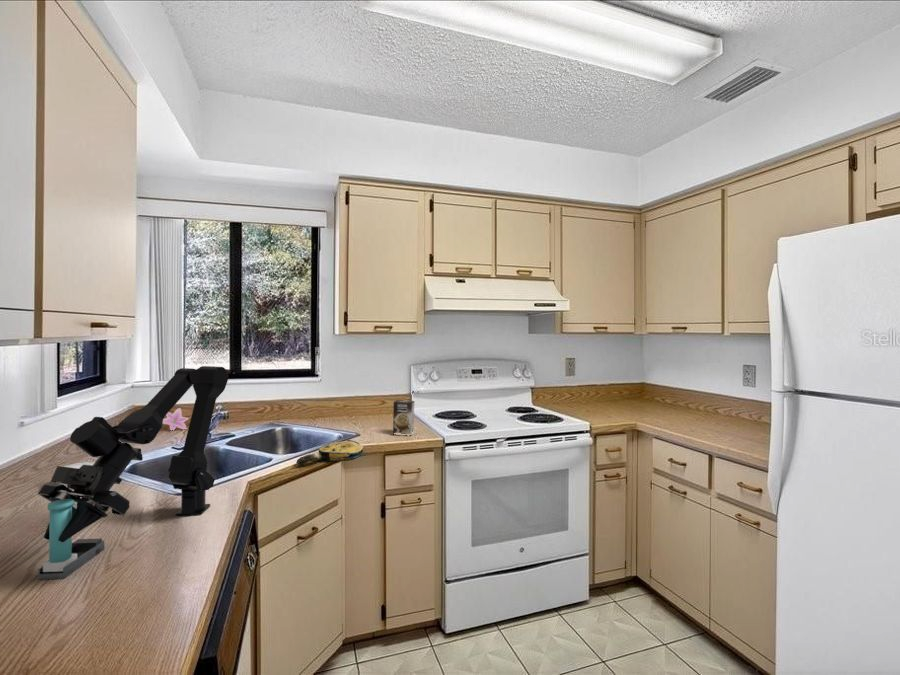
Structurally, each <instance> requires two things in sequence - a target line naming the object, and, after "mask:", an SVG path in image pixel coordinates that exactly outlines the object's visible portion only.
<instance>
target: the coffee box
mask: <svg viewBox="0 0 900 675" xmlns="http://www.w3.org/2000/svg"><path fill="white" fill-rule="evenodd" d="M414 419H415V401H414V400H399V399H398V400H394V401H393V418H392V420H393V422H392V434H393V433H401V434H411V433H412V432H413V431H415V430H414V429H415V428H414V426H415V425H414V424H415V423H414V422H415V421H414Z"/></svg>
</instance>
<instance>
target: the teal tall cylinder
mask: <svg viewBox="0 0 900 675" xmlns="http://www.w3.org/2000/svg"><path fill="white" fill-rule="evenodd" d="M73 505H74V500H73V499H62V500H57V501H53V502H49V503H48V504H47V510H48V511H49V522H50V523H49V522H48V524H49V540H48V541H49V545H48V546H49V548H48V549H49V551H48V560H47V561H45V562H43V564H42V566H43V572H58V571H63V568H64V567H66V566H67V565H68V564H70V563H71V562H73V561H74V560H76V559H77V553H74V554H72V543H73V542H72V541H73V536H72V537H70V538H69V539H67V540H66V541H64V542H60V541H58V539H59V537H60V535H61V534H62V532H63V530H64V529H65V528H66V526H67V525H68V523H69V522H70V520H71V519H72V506H73Z"/></svg>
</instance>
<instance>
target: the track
mask: <svg viewBox="0 0 900 675" xmlns="http://www.w3.org/2000/svg"><path fill="white" fill-rule="evenodd" d="M104 550H105V540H103V538H78V539H77V540H74V541H73V542H72V554H74V553H77V559H76V560H74V561H73V562H71V563H70V564H68V565H67V566H66V567H64V568H63V571H58V572H43V565H42V566H40V567H39V568H37V580H57V579H58V580H59V579H61V580H62V579H66V578H67V577H69V576H70V575H72V574H73V573H74V572H75V571H77V570H78V569H80V568H82V566H84V565H85V564H86V563H88V562H89V561H90V560H92V559H94V557H96V556H97V555H99V554H100V553H101V552H103V551H104Z"/></svg>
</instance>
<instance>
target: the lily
mask: <svg viewBox="0 0 900 675" xmlns="http://www.w3.org/2000/svg"><path fill="white" fill-rule="evenodd" d="M182 414H183V413H182V408H180V407H179V408H177V409H176V410H175V411H174V412H173V413H171V412H170V411H169V412H168V413H167V414H166V416H165V417H164V419H163V423H162V425H168V426H169V431H170V430H173V431H175V429H176V428H179V429H181V430H184V429H187V430H188V428H187V426H186V424H185V422H186V421H188V420H189V417H185V416H182Z"/></svg>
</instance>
